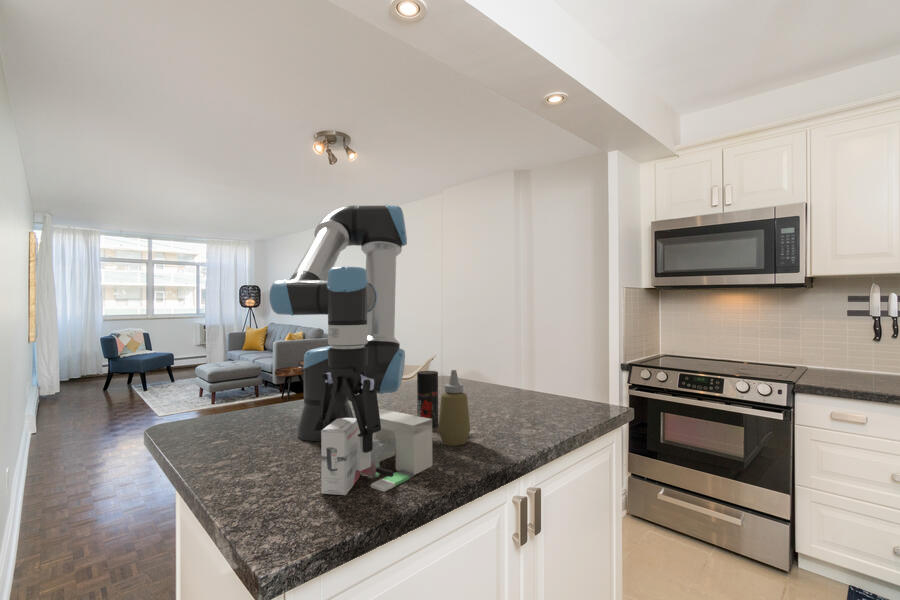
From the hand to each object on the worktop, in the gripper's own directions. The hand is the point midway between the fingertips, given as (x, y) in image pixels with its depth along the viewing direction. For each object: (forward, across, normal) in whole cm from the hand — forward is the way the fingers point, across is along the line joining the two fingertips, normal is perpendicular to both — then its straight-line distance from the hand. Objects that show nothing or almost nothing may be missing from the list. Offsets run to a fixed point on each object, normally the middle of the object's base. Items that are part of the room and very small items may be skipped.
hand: (348, 463), depth 83 cm
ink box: (+4, 0, -2) cm, 4 cm away
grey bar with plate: (+3, +2, +8) cm, 9 cm away
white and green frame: (+4, 0, +8) cm, 9 cm away
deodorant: (+4, -12, +39) cm, 41 cm away
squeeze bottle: (+4, +3, +31) cm, 31 cm away
